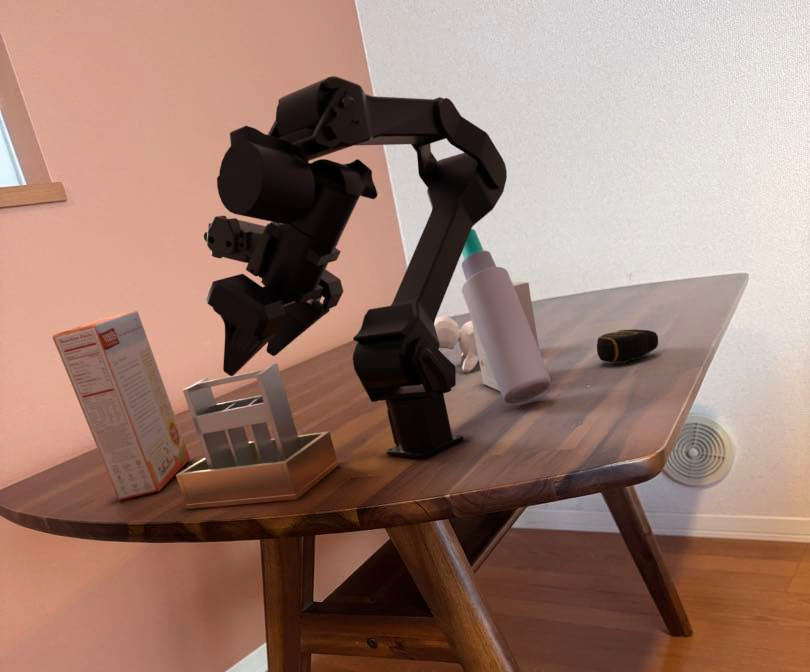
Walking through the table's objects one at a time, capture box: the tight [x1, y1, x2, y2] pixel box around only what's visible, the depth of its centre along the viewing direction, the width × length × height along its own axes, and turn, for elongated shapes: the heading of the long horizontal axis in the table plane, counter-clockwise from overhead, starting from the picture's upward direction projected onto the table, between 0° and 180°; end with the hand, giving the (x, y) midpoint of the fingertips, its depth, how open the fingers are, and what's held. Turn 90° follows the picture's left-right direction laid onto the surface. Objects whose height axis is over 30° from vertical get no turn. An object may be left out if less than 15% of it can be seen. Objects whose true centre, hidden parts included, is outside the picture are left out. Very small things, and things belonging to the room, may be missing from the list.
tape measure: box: [596, 329, 659, 365], centre depth 103 cm, size 7×7×4 cm
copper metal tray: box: [175, 430, 339, 510], centre depth 86 cm, size 14×10×4 cm
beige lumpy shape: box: [434, 315, 479, 374], centre depth 123 cm, size 8×8×15 cm
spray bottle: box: [461, 228, 552, 405], centre depth 94 cm, size 6×6×22 cm
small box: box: [470, 281, 540, 392], centre depth 105 cm, size 8×6×13 cm
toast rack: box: [182, 363, 302, 470], centre depth 85 cm, size 9×5×12 cm, turn 80°
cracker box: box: [52, 310, 191, 501], centre depth 98 cm, size 14×6×21 cm, turn 178°
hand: (250, 363), depth 82 cm, fingers open, 9 cm apart
